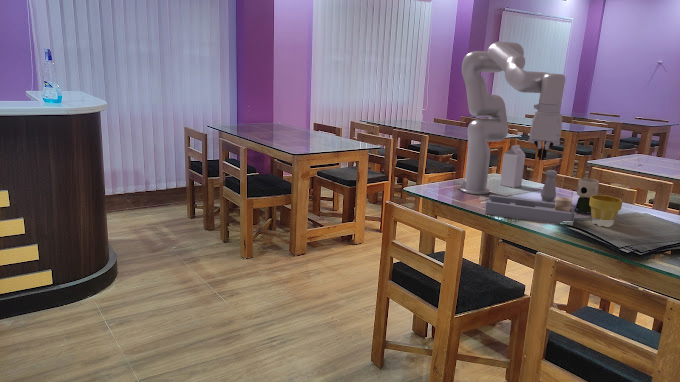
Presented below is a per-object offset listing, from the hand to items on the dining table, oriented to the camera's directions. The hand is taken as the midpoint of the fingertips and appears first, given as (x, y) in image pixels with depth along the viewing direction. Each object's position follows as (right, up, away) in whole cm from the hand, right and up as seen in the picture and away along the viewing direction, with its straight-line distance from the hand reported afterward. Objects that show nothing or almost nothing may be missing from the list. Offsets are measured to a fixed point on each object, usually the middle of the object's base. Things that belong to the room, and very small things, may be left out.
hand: (541, 159), depth 184 cm
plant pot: (+21, -24, -2) cm, 32 cm away
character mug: (+21, -20, +12) cm, 32 cm away
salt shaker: (+14, -16, +27) cm, 34 cm away
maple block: (+7, -19, -1) cm, 21 cm away
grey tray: (-3, -21, +4) cm, 21 cm away
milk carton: (+6, -9, +52) cm, 53 cm away
